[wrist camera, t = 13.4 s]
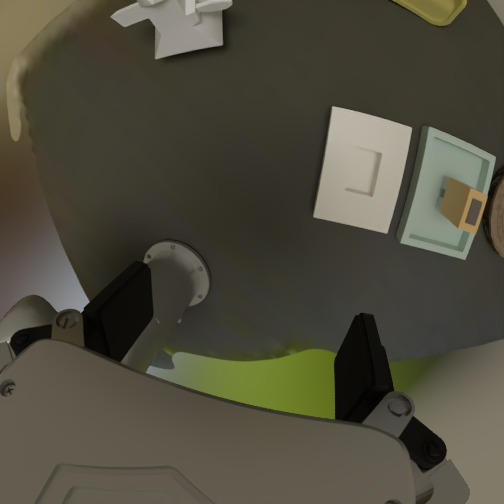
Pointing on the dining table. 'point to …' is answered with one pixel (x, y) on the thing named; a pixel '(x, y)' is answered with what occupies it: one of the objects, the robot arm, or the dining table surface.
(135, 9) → the white faceted figurine
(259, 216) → the dining table surface
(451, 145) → the tray
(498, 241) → the wood slice coaster
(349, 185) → the block
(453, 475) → the robot arm
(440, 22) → the plastic component
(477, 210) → the tan rectangular block
